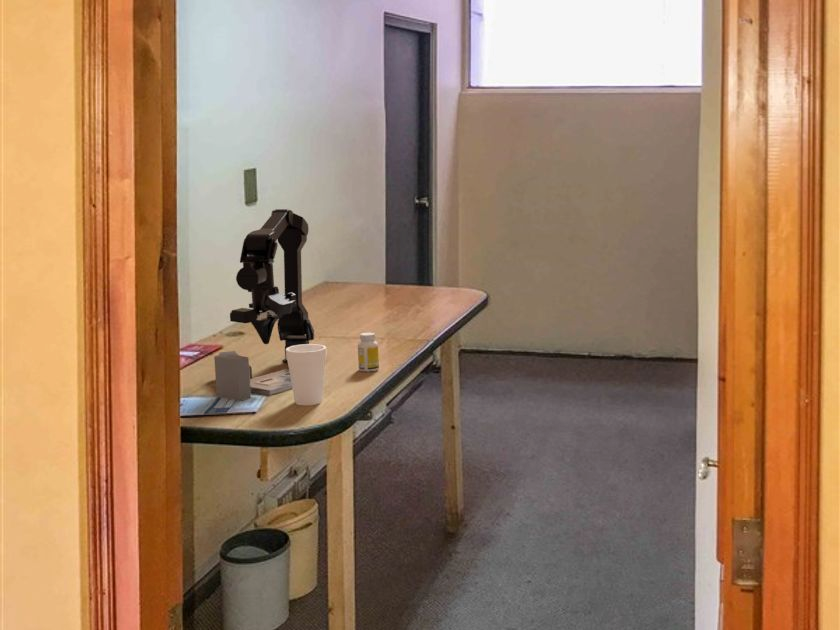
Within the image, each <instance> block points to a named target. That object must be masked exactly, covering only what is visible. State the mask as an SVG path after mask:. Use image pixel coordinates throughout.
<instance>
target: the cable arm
mask: <svg viewBox="0 0 840 630" xmlns="http://www.w3.org/2000/svg"><path fill="white" fill-rule="evenodd" d="M222 354H231V355H238V356H241V355H240V354H238V353H237V352H236V351H235V350H231V351H220V352H219V353H218V355H222ZM252 372H253V371H252V366H251V365H250V364H249V378H250V379H252V378H253V373H252ZM251 393H252V392H251V384H250V394H251Z"/></svg>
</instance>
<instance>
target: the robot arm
mask: <svg viewBox="0 0 840 630" xmlns="http://www.w3.org/2000/svg"><path fill="white" fill-rule="evenodd" d="M308 235H309V224H308V222H307V221H306V219H305V218H304V217H303V216H301V215H299V214H297V213H294V212H293V210H290V209H289V208H285V209H284V208H283V209H282V208H279V209H277V208H276V209H273V210H272V211H271V215H270V216H269V218H268V219H267V220H266V221H265V222H264V224H263V225H262V226H261V227H260V228H259V229H256V230H253V231H251V232H249V233H247V235H245V238H244V239H243V243H242V246H241V247H242V249H241V253H240V259H239V263H240V264H241V263H242V268H240V269H239V270H238V272H237V273H236V276H235V280H236V283H237V285H238V287H239V288H241V289H242V290H244V291H247V292H248V293H251V303H248V308H247V307H241V308H236V309H232V310H231V311H230V313H229V319H230V322H233V323H238V324H239V323H241V324H249V323H251V325H252V326H253V328H254V329H255V331H256V333H257V334H258V336H259V338H260V340H261V341H262V343H263V345H269V344H270V340H271V337H272V333H273V330H274V327H275V324H276V322H277V331H278V338H279V341H281V342H282V341H284V344H285V345H284V359H281V362H282V363H288V361H287V359H286V349H287V348H288V347H291V346H295V345H302V344H310V341H315V329H314V327H313V325H312V323H311V320H310V319H309V312H308V311H307V309H306V307H305V305H304V304H303V289H302V287H303V284H302V282H303V281H302V279H303V278H302V276H303V275H302V250H303V248H304V246H305V244H306V242H308V241H307V240H308ZM278 244H279V245H278ZM278 246H280V247H281V249H282V251H283V269H284V270H283V272H284V273H283V274H284V275H283V276H284V294H281V293H280V291H279V288H278V286H277V285H276V286H275V280H274V277H275V275H274V265H273V264H274V263H275V257H276V255H277V254H276V253H277V251H278Z"/></svg>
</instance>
